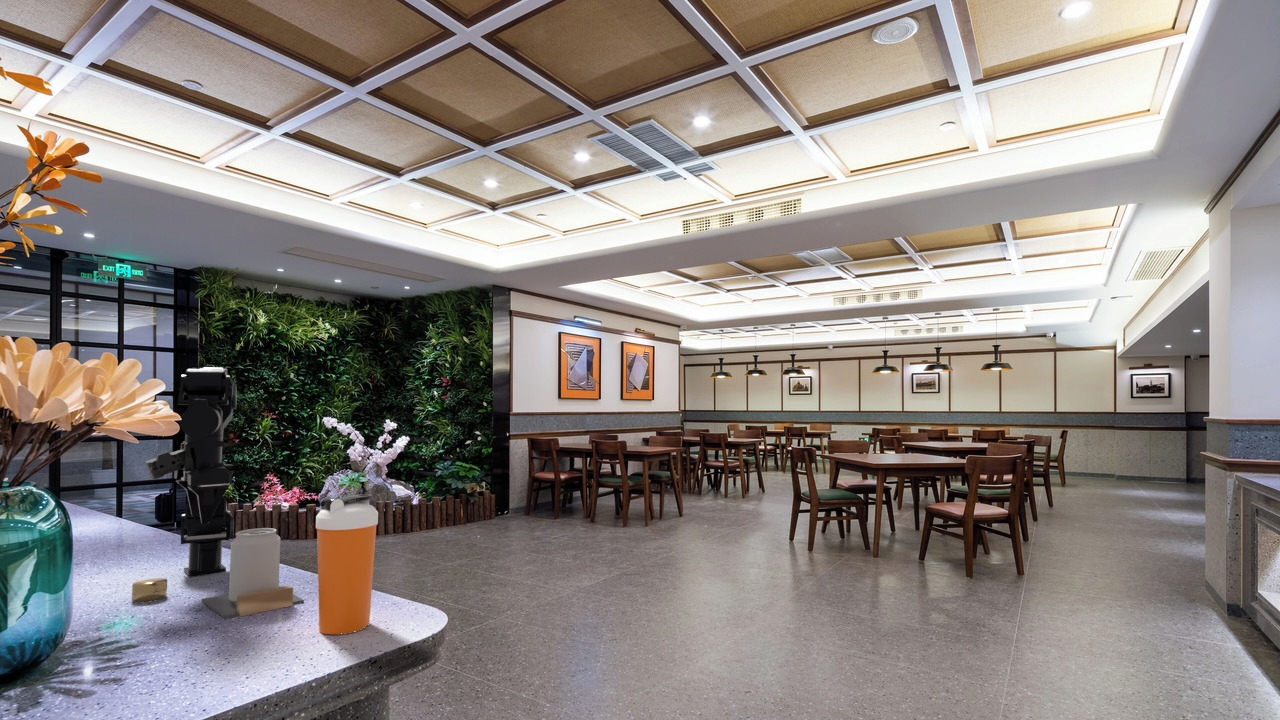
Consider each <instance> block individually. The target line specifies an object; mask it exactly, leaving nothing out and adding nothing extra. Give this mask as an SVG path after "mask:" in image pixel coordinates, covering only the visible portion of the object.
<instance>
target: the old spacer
mask: <svg viewBox="0 0 1280 720" xmlns="http://www.w3.org/2000/svg"><path fill="white" fill-rule="evenodd" d="M167 592H168V579H167V578H164V577H161V578H160V577H158V578H149V579H142V580H138V581H136V582H133V583H132V587H131V602H132V601H133V602H132V603H134V602H145V603H150V602H149V601H152V602H156V601H155V600H157V601H160V599H161V600H163V599H165V598H167V597H168V596H167V594H168V593H167Z"/></svg>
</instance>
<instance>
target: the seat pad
mask: <svg viewBox="0 0 1280 720" xmlns="http://www.w3.org/2000/svg"><path fill="white" fill-rule="evenodd" d="M201 602H202V603H204V605H206V606H208V607H209V608H210V609H211V610H213V611H214V612H216V613H217V614H218V615H219V616H221V617H222V618H223V619H225V620H226V619H231V618H235V617H240V616H239V613H238V612H236V604H235V603H234V602H232V601H231V600H230V599H229V593H225V594H220V595H215V596H209V597H202V598H201ZM300 602H303V603H304V602H305V600H304V599H303V598H301V597H299V596H297V595H296V594H294V593H293V605H298V604H301V603H300Z"/></svg>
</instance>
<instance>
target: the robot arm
mask: <svg viewBox="0 0 1280 720" xmlns="http://www.w3.org/2000/svg"><path fill="white" fill-rule="evenodd" d="M185 370H186V371H185V374H181V376H180V382H179V390H178V397H177V398H178V399H177V405H187V409H186V410H184V412H183V413H182V414H181V417H182V420H181V421H180V420H179V427H180V429H181V430H182V433H184V434H185V436H184V441H182V443H180V449H179V450H176V451H172V452H169V451H164V452H163V453H160V454H159V453H158V454H157V455H156V457H154V458H152V459H149V460H146V461H145V462H144V464H145V466H146V468H147V470H148V473H149V476H150V478H152V479H153V480H157V479H159V478H162V477H164V476H165V475H168V474H171V473H173V475H174V477H173V478H174V479H176V480H175V482H176V483H177V484H179V485H180V486H181V487H182V488H183V489H184V490H185V491H186V496H187V501H186V502H187V503H186V507H185V513H182V514H181V518H180V519H181V520H180V545H187V544H189V547H188V549H189V550H188V567H184V568H183V571H184V572H185V573H186V575H187V576H196V575H203V574H211V573H217V572H223V571H224V572H225V571H227V567H226V566H224V564H222V555H223V541H230V540H231V539H233V540H234V534H235V530H234V529H235V528H234V526H235V517H234V516H233V515H232V513H231V510H228V503H227V499H226V498H225V497H224V495H225V493H226V491H227V490H228V488H229V487H230V484H232V482H233V481H232V478H233V472H232V471H231V470H230V469H228V468H227V467H224V462H222V459H223V458H222V457H223V448H224V447H225V446H224V445H225V441H224V440H223V439H224V430H225V428H226V427H227V425H228V424H229V423H230V422H231V421H232V419H233V411H234V410H237V403H238V402H237V400H238V399H237V398H238V397H237V396H238V395H237V393H238V391H237V389H238V388H237V384H236V383H235V382H234V381H233V379H232V377H231V376H230V375H231V374H230V375H229V374H228V368H224V367H220V366H219V367H217V366H215V367H214V366H213V367H212V366H211V367H210V366H204V367H199V368H187V369H185ZM181 417H180V418H181Z"/></svg>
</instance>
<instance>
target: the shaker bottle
mask: <svg viewBox="0 0 1280 720" xmlns="http://www.w3.org/2000/svg"><path fill="white" fill-rule="evenodd" d="M372 497H374V495H373V494H372V493H371V494H369V493H364V494H363V493H360V494H359V493H358V494H351V495H345V496H342V497H341V496H340V497H338V498H336V497H330V496H325V497H323V498H322V499H321V501H320V505H319V507H320V509H319V512H318V513H317V515H316V516H315V529H316V531H317V532H316V533H317V534H316V535H317V537H316V539H317V575H318V576H317V577H318V578H317V582H318V584H317V585H318V628H319V629H318V630H319V632H320V633H321V634H323V635H326V634H341V633H342V634H343V635H345V634H344V633H350V632H354V631H358V630H360V629H363V628H364V627H366V626H367V625H368V624H369V625H370V618H371V606H372V591H373V589H372V588H373V580H374V579H373V578H374V577H373V576H374V562H375V549H376V548H375V547H376V535H377V526H378V524H379V512H378V510H377V509H376V507H374V506H373V505H372V504H370V499H371V498H372ZM355 500H356V501H355ZM369 625H368V626H369ZM366 628H367V627H366ZM363 630H364V629H363ZM358 632H359V631H358ZM324 633H325V634H324ZM354 633H355V632H354ZM350 634H351V633H350Z"/></svg>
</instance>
